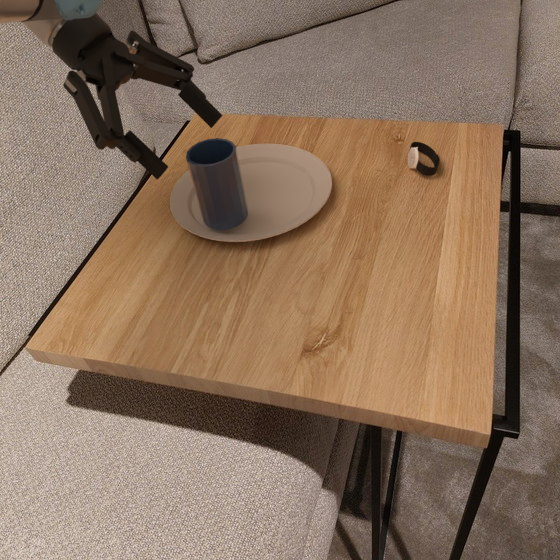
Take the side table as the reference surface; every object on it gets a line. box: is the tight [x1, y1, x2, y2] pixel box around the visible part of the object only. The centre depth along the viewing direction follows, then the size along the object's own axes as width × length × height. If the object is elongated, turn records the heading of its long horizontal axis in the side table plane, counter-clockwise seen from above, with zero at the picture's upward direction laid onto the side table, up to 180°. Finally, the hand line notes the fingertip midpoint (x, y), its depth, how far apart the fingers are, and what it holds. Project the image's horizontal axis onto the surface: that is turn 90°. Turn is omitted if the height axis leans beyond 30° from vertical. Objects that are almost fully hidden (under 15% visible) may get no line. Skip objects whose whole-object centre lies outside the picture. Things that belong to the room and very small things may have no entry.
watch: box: [407, 141, 441, 177], centre depth 92 cm, size 8×5×4 cm, turn 7°
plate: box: [169, 143, 333, 243], centre depth 92 cm, size 26×26×2 cm
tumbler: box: [185, 137, 248, 230], centre depth 83 cm, size 7×7×11 cm
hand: (191, 146), depth 80 cm, fingers open, 13 cm apart
